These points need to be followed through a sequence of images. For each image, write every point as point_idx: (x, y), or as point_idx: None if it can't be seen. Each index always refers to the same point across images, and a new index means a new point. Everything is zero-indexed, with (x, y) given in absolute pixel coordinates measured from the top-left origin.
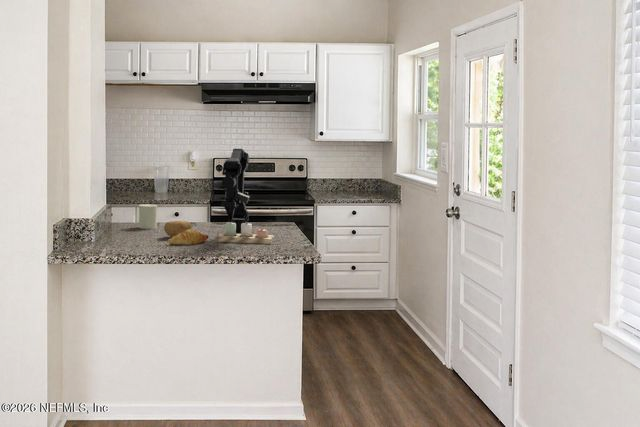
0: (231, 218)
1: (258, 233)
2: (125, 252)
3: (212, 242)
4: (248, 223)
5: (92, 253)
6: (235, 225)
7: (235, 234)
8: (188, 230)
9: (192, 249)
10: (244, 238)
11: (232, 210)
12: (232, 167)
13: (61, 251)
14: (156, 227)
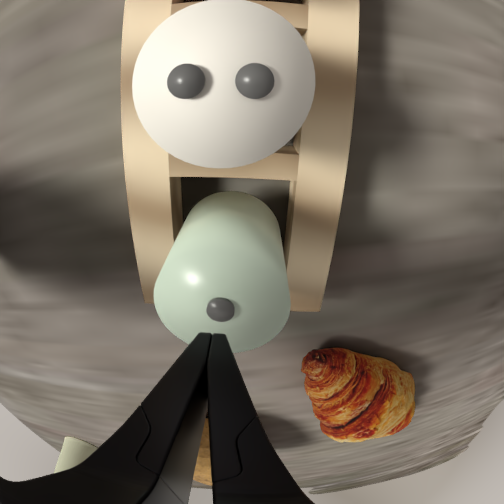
0: (229, 352)
1: None
2: (468, 424)
3: (344, 310)
4: (139, 64)
5: (456, 445)
6: (242, 239)
7: (240, 194)
8: (385, 433)
9: (495, 336)
10: (352, 98)
11: (277, 477)
12: None
13: (424, 468)
14: (77, 439)
